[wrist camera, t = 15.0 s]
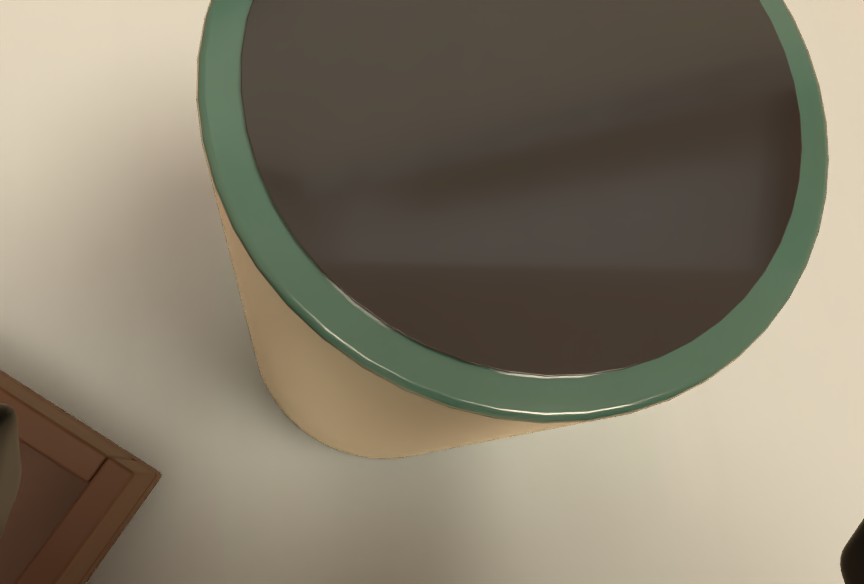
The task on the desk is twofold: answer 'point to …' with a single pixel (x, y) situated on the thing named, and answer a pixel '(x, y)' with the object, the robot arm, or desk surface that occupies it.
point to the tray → (65, 494)
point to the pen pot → (505, 203)
